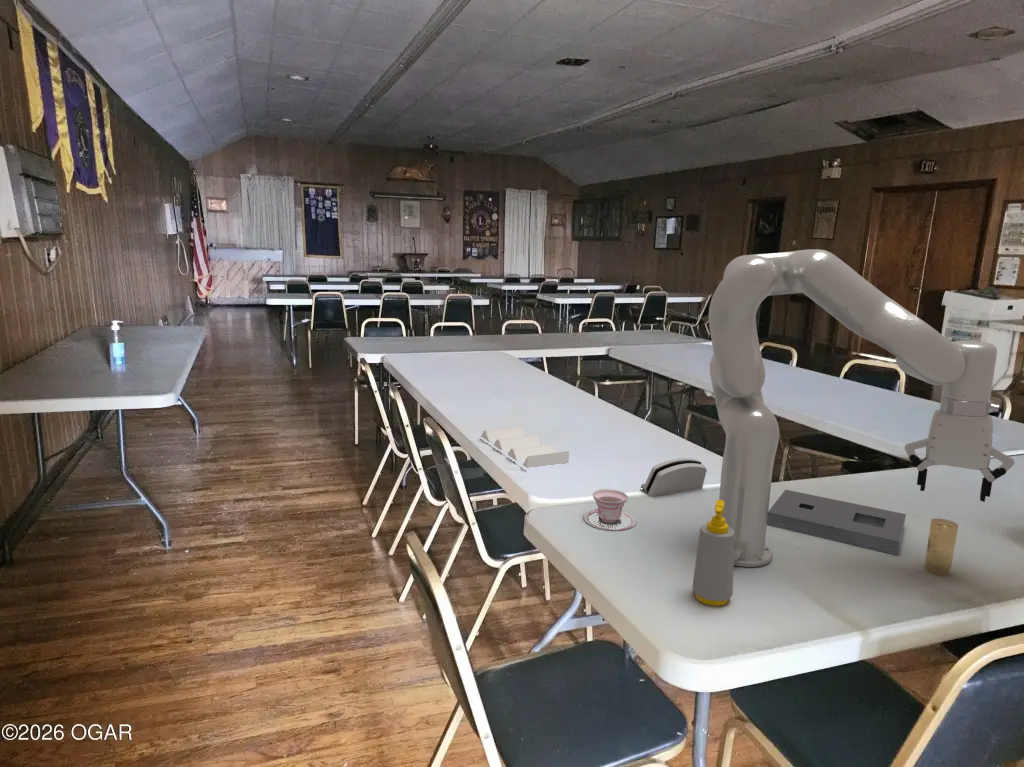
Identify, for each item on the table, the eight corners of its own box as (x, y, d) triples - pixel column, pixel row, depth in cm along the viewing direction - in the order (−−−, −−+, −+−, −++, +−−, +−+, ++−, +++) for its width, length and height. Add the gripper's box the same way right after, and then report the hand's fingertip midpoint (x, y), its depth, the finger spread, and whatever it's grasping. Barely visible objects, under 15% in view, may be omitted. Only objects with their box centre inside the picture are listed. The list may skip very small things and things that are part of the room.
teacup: (574, 514, 154) (575, 489, 153) (619, 508, 159) (620, 483, 158) (599, 535, 144) (600, 508, 142) (646, 527, 148) (648, 501, 147)
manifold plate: (897, 555, 136) (899, 541, 136) (766, 524, 151) (767, 512, 150) (904, 526, 151) (906, 514, 151) (784, 500, 165) (785, 489, 165)
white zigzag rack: (516, 436, 219) (516, 421, 218) (568, 468, 188) (569, 451, 187) (479, 440, 214) (479, 425, 213) (526, 474, 183) (527, 456, 182)
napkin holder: (690, 481, 178) (701, 451, 173) (701, 493, 174) (712, 462, 169) (638, 489, 171) (648, 458, 166) (648, 501, 167) (659, 470, 162)
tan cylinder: (950, 578, 127) (958, 529, 125) (923, 571, 130) (930, 523, 128) (950, 569, 131) (958, 521, 129) (924, 563, 133) (931, 516, 131)
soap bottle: (689, 603, 116) (697, 507, 112) (693, 585, 122) (701, 493, 119) (730, 611, 114) (740, 513, 110) (732, 592, 120) (741, 499, 116)
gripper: (1020, 409, 122) (1006, 497, 125) (911, 398, 131) (901, 480, 135) (1023, 417, 116) (1008, 510, 119) (909, 405, 125) (898, 490, 129)
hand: (951, 494), depth 127 cm, fingers open, 9 cm apart
